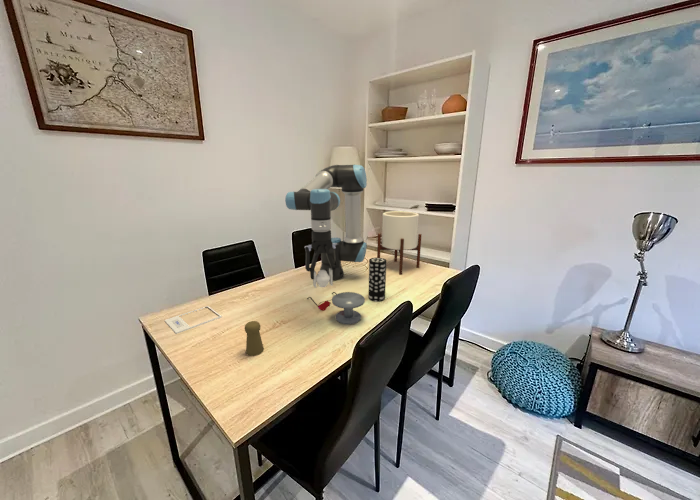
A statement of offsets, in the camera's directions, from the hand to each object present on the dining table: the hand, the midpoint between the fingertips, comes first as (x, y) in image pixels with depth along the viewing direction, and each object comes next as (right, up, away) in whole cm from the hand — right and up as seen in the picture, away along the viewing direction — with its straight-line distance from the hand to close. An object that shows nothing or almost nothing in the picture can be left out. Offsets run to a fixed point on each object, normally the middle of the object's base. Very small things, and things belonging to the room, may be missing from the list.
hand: (322, 285), depth 116 cm
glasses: (-1, -12, +22) cm, 25 cm away
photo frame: (-56, -16, +6) cm, 59 cm away
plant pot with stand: (+43, +3, +72) cm, 84 cm away
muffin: (0, 0, 0) cm, 1 cm away
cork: (-23, -22, -15) cm, 35 cm away
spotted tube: (+24, -10, +26) cm, 37 cm away
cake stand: (+10, -15, +7) cm, 20 cm away
